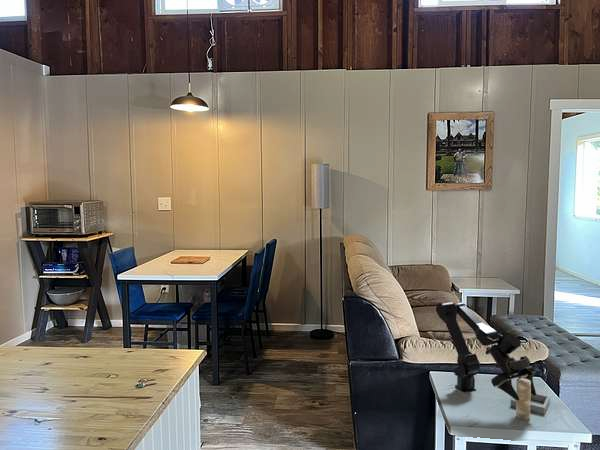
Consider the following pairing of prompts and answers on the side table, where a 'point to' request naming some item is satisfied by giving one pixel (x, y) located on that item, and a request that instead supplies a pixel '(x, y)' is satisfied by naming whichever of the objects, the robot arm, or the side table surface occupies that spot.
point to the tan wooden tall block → (523, 398)
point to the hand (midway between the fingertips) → (526, 397)
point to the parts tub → (535, 407)
